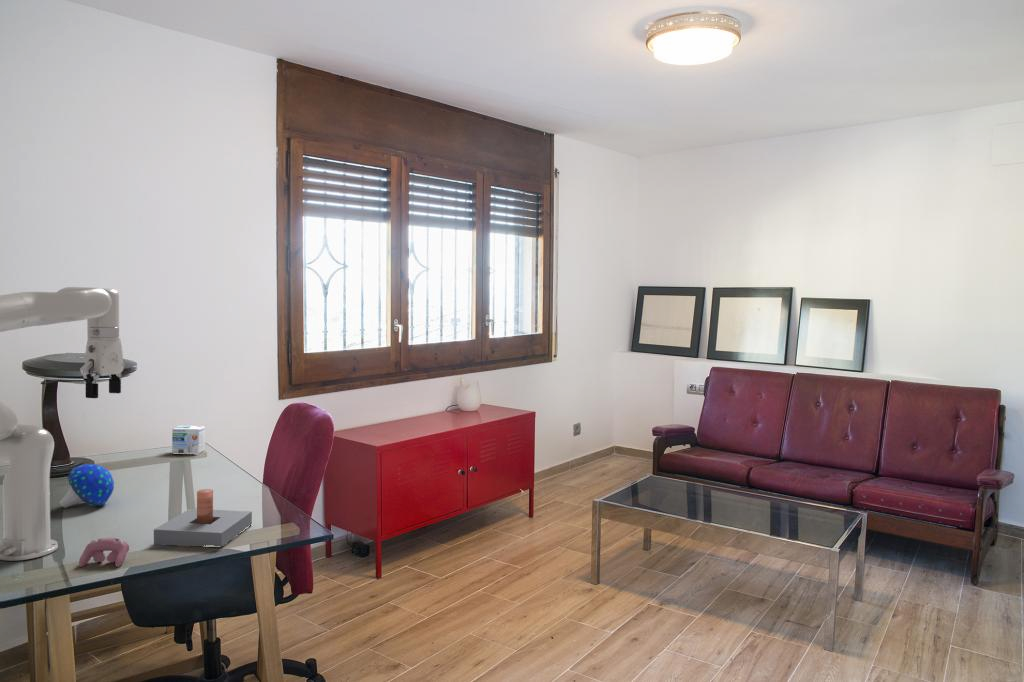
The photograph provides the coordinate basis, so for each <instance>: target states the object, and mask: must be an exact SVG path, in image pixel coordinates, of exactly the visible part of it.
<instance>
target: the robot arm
mask: <svg viewBox="0 0 1024 682" xmlns="http://www.w3.org/2000/svg"><path fill="white" fill-rule="evenodd" d="M84 320H87V321H86V323H87V326H86V328H87V329H86V331H87V332H86V333H87V341H86V346H85V357H84V358H85V359H84V362H85V363H84V364H83V365H82V366H81V367H80V369H79V370H80V373H81V374H80V375H81V377H82V379H83V384H85V398H86V399H98V398H99V383H98V380H99V378H100V376H102V377H105V376H109V379H108V393H109V394H121V393H122V378H123V373H124V369H125V367H126V366H125V365H126V362H125V361H124V356H123V355H124V354H123V345H122V342H121V341H122V340H121V338H120V294H119V292H118V291H117V290H116V289H113V288H99V287H90V286H89V287H81V286H77V287H76V286H68V287H63V288H61V289H59V290H57V291H54V292H52V291H51V292H48V291H23V292H13V293H7V294H0V333H2V332H3V333H4V332H8V331H14V330H19V329H24V328H25V329H26V328H31V327H39V326H48V325H49V326H50V325H54V324H55V325H56V324H62V323H71V322H77V321H84ZM54 449H55V441H54V437H53V435H52V434H51V432H50V431H48V430H47V429H45V428H44V427H40V426H37V425H30V424H20V423H19V422H18V417H17V415H16V414H15V412H14V411H13V410H12V409H11V408H10V407H9V406H7V405H6V404H5V403H3V402H2V401H0V463H6V464H7V463H8V464H9V466H8V469H7V471H6V472H5V474H4V477H3V480H2V524H3V525H2V526H3V529H2V533H3V539H1V540H0V561H1V560H2V561H9V562H10V561H11V562H12V561H14V562H15V561H17V562H18V561H25V560H31V559H36V558H40V557H43V556H47V555H49V554H51V553H53V552H56V550H57V549H58V547H59V545H58V544H59V542H58V541H57V540H55V539H51V484H50V483H51V482H50V481H51V465H52V460H53V454H54Z"/></svg>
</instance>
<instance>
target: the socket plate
mask: <svg viewBox="0 0 1024 682" xmlns="http://www.w3.org/2000/svg"><path fill="white" fill-rule="evenodd" d="M251 524H252V525H253V511H245V510H225V509H224V510H223V509H213V523H212V524H197V508H188V509H187V510H186V511H183V512H182V513H180V514H179V515H177V516H175V517H173V518H171V519H170V520H168V521H166V522H165V523H162V524H161V525H159V526H158V527H156V528H154V529H153V545H154V544H165V545H164V546H169V545H177V546H176V547H189V546H204V545H205V546H206V545H214V546H220V547H222V546H224V545H225V544H226V543H228V542H229V541H230V540H232V539H233V538H234V537H235V536H236V535H238V534H239V533H240V532H241V531H243V530H244V529H245V528H246V527H248V526H249V525H251ZM238 536H239V535H238ZM234 539H235V538H234ZM234 539H233V540H234ZM233 540H232V541H233ZM230 542H231V541H230ZM230 542H229V543H230ZM229 543H228V544H229ZM226 545H227V544H226ZM226 545H225V546H226ZM225 546H224V547H225ZM222 548H223V547H222Z"/></svg>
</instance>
